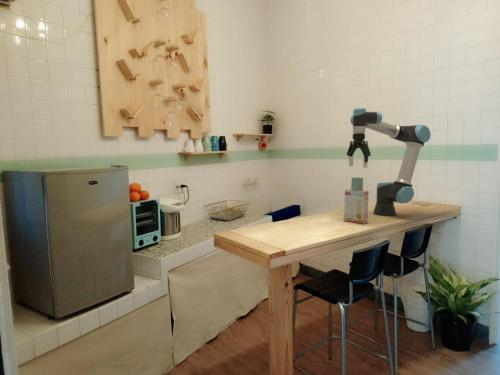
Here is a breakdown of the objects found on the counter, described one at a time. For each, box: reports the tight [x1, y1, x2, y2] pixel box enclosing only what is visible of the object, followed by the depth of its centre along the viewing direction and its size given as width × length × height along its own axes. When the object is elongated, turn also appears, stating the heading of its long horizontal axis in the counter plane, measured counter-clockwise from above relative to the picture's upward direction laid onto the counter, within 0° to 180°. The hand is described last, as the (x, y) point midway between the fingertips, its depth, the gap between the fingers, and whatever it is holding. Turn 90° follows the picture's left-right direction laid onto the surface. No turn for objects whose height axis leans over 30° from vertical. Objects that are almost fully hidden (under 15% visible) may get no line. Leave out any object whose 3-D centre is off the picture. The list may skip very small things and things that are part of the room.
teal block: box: [350, 177, 364, 191], centre depth 215 cm, size 5×5×8 cm
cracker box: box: [343, 188, 370, 225], centre depth 217 cm, size 14×6×21 cm, turn 41°
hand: (357, 166), depth 214 cm, fingers open, 13 cm apart
